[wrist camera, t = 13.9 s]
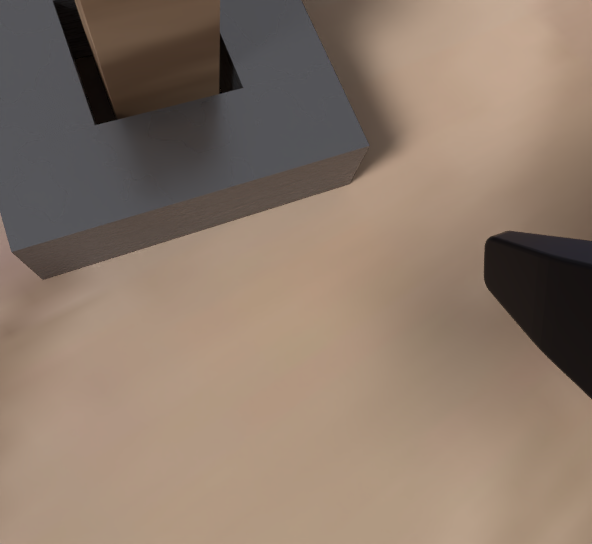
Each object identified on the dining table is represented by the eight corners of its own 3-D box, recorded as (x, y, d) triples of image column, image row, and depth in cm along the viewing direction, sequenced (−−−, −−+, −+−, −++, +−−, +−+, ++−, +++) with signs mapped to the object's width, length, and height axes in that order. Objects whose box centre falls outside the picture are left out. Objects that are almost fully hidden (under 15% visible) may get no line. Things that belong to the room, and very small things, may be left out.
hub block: (349, 184, 25) (369, 145, 22) (42, 279, 22) (11, 251, 18) (245, -46, 28) (249, -110, 25) (-37, 7, 25) (-76, -59, 21)
